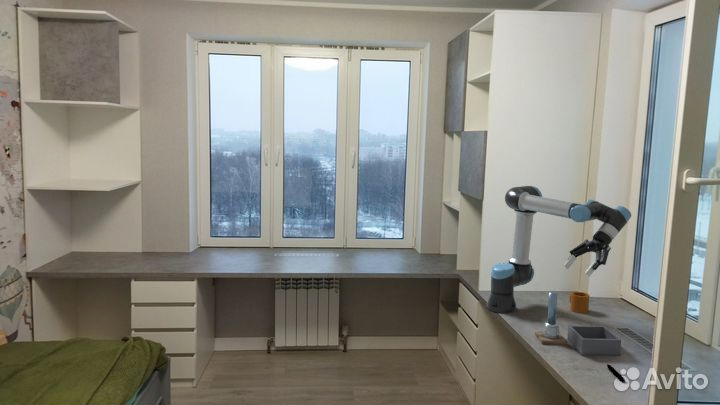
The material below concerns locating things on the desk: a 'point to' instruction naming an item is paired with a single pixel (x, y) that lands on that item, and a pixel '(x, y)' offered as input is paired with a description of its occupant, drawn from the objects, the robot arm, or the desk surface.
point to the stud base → (551, 339)
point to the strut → (551, 316)
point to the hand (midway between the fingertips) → (576, 270)
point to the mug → (579, 302)
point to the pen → (615, 373)
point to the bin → (594, 341)
